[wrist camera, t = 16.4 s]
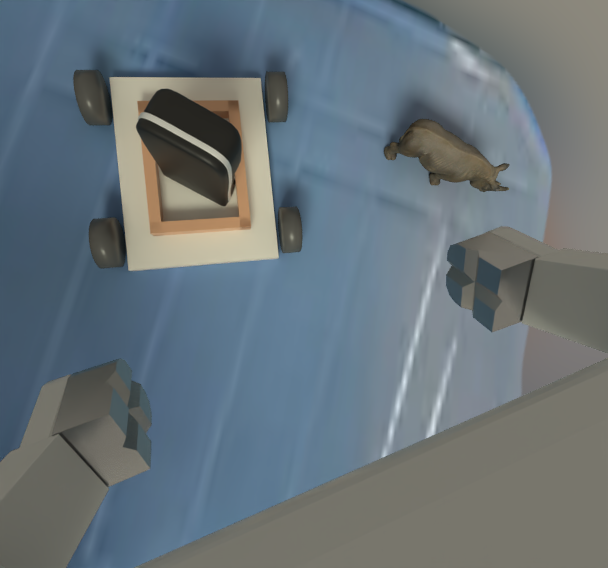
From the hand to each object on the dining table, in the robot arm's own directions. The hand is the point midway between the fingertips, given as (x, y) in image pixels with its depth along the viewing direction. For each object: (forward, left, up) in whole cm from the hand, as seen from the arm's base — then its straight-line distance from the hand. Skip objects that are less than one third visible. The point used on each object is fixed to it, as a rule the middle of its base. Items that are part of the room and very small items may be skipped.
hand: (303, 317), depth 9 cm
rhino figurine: (+22, +12, -29) cm, 39 cm away
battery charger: (-3, +12, -28) cm, 31 cm away
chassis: (-4, +13, -29) cm, 32 cm away
